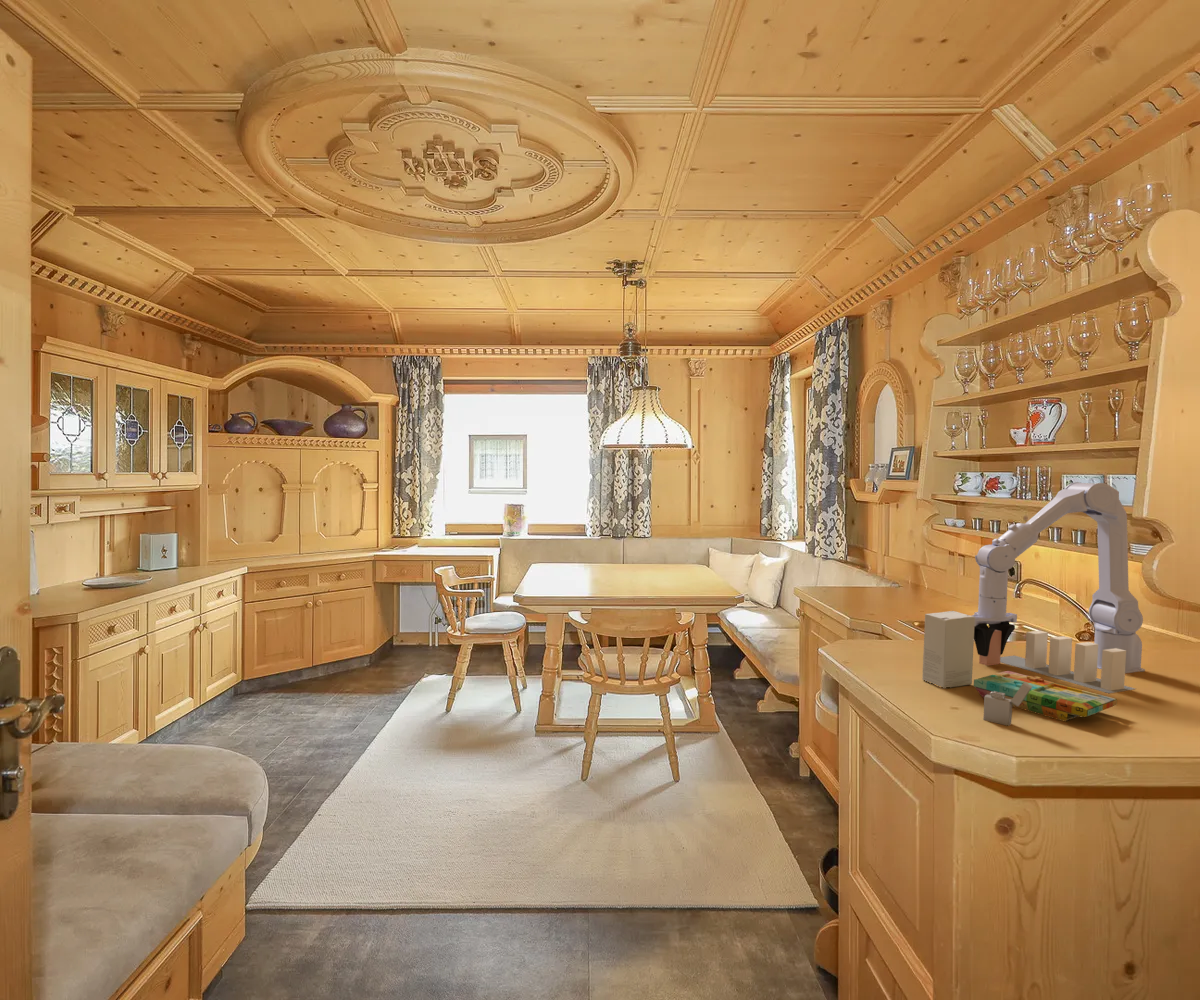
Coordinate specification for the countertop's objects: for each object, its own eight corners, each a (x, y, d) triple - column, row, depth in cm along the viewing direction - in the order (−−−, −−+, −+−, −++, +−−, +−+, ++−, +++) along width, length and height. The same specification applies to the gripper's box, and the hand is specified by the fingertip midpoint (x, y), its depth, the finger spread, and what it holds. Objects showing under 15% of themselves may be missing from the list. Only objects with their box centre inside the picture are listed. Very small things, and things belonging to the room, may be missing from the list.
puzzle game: (1004, 666, 143) (1117, 694, 126) (1003, 689, 143) (1115, 719, 126) (974, 674, 137) (1088, 705, 120) (973, 698, 137) (1086, 731, 120)
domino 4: (1086, 678, 150) (1088, 641, 150) (1096, 680, 148) (1098, 644, 148) (1073, 680, 148) (1075, 643, 148) (1083, 682, 146) (1085, 645, 146)
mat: (1014, 657, 168) (1014, 655, 168) (1136, 690, 143) (1136, 688, 143) (988, 660, 164) (988, 658, 164) (1108, 695, 139) (1108, 693, 139)
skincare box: (950, 677, 150) (953, 610, 149) (973, 686, 144) (977, 615, 143) (920, 680, 147) (923, 612, 146) (943, 689, 141) (946, 618, 140)
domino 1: (992, 662, 162) (993, 629, 162) (1000, 664, 160) (1001, 631, 160) (979, 664, 160) (980, 630, 160) (986, 666, 158) (988, 632, 158)
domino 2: (1037, 664, 160) (1039, 630, 160) (1046, 666, 158) (1047, 632, 158) (1024, 666, 158) (1026, 632, 158) (1033, 668, 156) (1035, 634, 156)
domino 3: (1061, 671, 155) (1063, 636, 155) (1070, 673, 153) (1072, 638, 153) (1048, 672, 153) (1050, 637, 153) (1057, 675, 151) (1059, 639, 151)
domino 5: (1113, 685, 145) (1115, 648, 144) (1124, 688, 143) (1126, 650, 143) (1100, 687, 143) (1102, 649, 143) (1110, 690, 141) (1112, 652, 141)
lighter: (983, 719, 124) (985, 676, 124) (985, 717, 125) (987, 674, 125) (1028, 730, 119) (1030, 685, 119) (1030, 728, 120) (1032, 683, 120)
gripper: (998, 592, 166) (996, 647, 167) (955, 595, 160) (952, 652, 161) (1026, 597, 160) (1023, 655, 160) (982, 600, 154) (979, 660, 154)
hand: (990, 654), depth 160 cm, fingers closed on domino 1, 4 cm apart
